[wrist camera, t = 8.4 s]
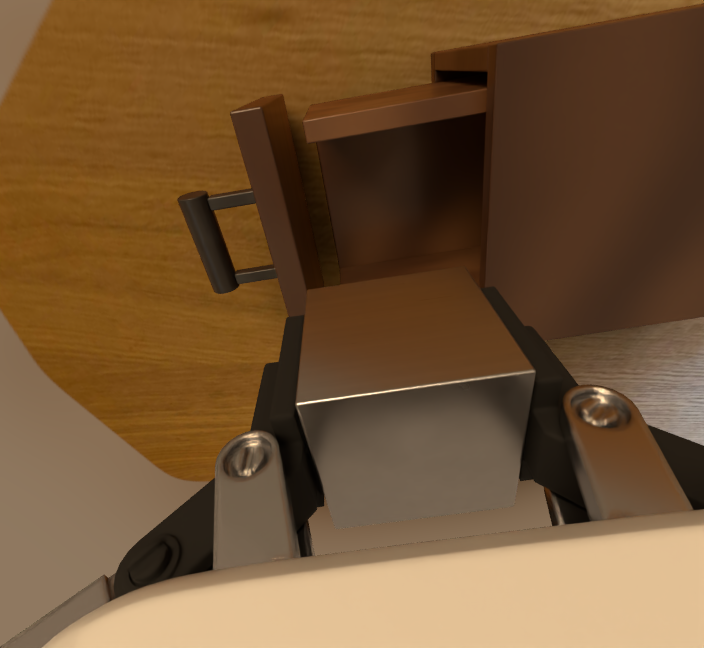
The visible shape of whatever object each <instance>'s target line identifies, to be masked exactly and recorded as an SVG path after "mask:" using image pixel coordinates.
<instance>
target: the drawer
mask: <svg viewBox="0 0 704 648" xmlns="http://www.w3.org/2000/svg"><path fill="white" fill-rule="evenodd" d="M487 79H488V73H487V74H481V75H476V76H470V77H465V78H459V79H453V80H448V81H442V82H436V83H431V84H425V85H420V86H414V87H408V88H403V89H397V90H391V91H386V92H380V93H375V94H369V95H363V96H358V97H352V98H347V99H341V100H335V101H330V102H324V103H318V104H313V105H311V106H310V107H309V109H308V111H307V113H306V115H305V117H304V120H303V127H304V132H305V137H306V142H307V143H308V144H309V143H315V142H316V144H317V149H318V155H319V160H320V165H321V171H322V176H323V182H324V187H325V192H326V198H327V203H328V209H329V214H330V219H331V225H332V230H333V236H334V241H335V246H336V252H337V257H338V263H339V268H340V285H342V284H349V283H355V282H362V281H368V280H375V279H381V278H388V277H394V276H401V275H407V274H414V273H421V272H427V271H434V270H440V269H447V268H453V267H460V266H465V267H466V269H467V270H468V271H469V273H470V274H471V276H472V277H473V279H474V280H475V282H476V283H477V285H478V286H479V277H480V252H481V227H482V203H483V178H484V153H485V129H486V104H487ZM230 115H231V118H232V122H233V125H234V129H235V132H236V136H237V139H238V143H239V146H240V150H241V153H242V156H243V160H244V163H245V167H246V170H247V174H248V177H249V181H250V184H251V189H245V190H239V191H233V192H228V193H222V194H216V195H211V196H208V193H207V192H206V191H196V192H191V193H188V194H185V195H182V196H180V197H179V198H178V199H177V200H178V203H179V205H180V208H181V210H182V213H183V215H184V218H185V220H186V223H187V225H188V228H189V230H190V233H191V235H192V238H193V240H194V242H195V245H196V247H197V250H198V252H199V255H200V257H201V260H202V262H203V265H204V267H205V270H206V272H207V275H208V277H209V280H210V282H211V285H212V287H213V290H214V292H215V293H218V294H223V293H228V292H231V291H233V290H235V289H236V288H238V287H239V284H242V283H249V282H255V281H261V280H267V279H274V278H278V281H279V284H280V288H281V291H282V295H283V298H284V302H285V305H286V308H287V312H288V315H289V317H293V316H299V315H305V305H306V295H307V290H309V289H316V288H322V287H324V282H323V277H322V272H321V268H320V263H319V258H318V254H317V249H316V245H315V240H314V235H313V231H312V226H311V221H310V217H309V212H308V207H307V203H306V198H305V194H304V189H303V184H302V180H301V175H300V170H299V166H298V161H297V156H296V152H295V147H294V143H293V138H292V133H291V129H290V124H289V119H288V115H287V110H286V105H285V101H284V96H283V94H279V95H273V96H267V97H262V98H260V99H258V100H255V101H253V102H251V103H249V104H247V105H244V106H242V107H240V108H238V109H236V110H233V111H231V112H230ZM255 203H256V205H257V208H258V212H259V215H260V219H261V222H262V226H263V229H264V232H265V236H266V239H267V243H268V246H269V250H270V253H271V257H272V260H273V265H267V266H260V267H254V268H248V269H242V270H237V271H236V272H235V269H234V266H233V263H232V260H231V258H230V255H229V252H228V249H227V246H226V243H225V241H224V238H223V235H222V232H221V229H220V227H219V224H218V221H217V218H216V215H215V212H214V210H219V209H225V208H231V207H237V206H243V205H249V204H255Z"/></svg>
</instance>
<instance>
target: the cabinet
mask: <svg viewBox="0 0 704 648" xmlns="http://www.w3.org/2000/svg"><path fill="white" fill-rule="evenodd" d="M431 72H432V83H436V82H442V81H448V80H453V79H459V78H465V77H470V76H476V75H481V74H487V73H488V79H487V104H486V129H485V153H484V178H483V203H482V227H481V252H480V277H479V288H486V287H492V286H494V287H495V288H496V289H497V290H498V292H499V293H500V294H501V296H502V297H503V298H504V300H505V301H506V302H507V304H508V305H509V306H510V308H511V309H512V310H513V312H514V313H515V314H516V316H517V317H518V318H519V320H520V321H521V322H522V324H523V325H524V326H532V327H533V328H534V329H535V330H536V331H537V333H538V334H539V335H540V336H541V338H542V339H543V340H544V341H545V340H552V339H558V338H565V337H572V336H578V335H585V334H592V333H599V332H605V331H612V330H619V329H625V328H632V327H639V326H646V325H652V324H659V323H666V322H672V321H679V320H686V319H693V318H699V317H704V3H703V4H697V5H692V6H686V7H681V8H675V9H670V10H664V11H659V12H653V13H648V14H642V15H637V16H631V17H626V18H620V19H615V20H609V21H604V22H598V23H593V24H587V25H582V26H576V27H571V28H565V29H559V30H554V31H548V32H543V33H537V34H532V35H526V36H521V37H515V38H510V39H504V40H499V41H493V42H488V43H482V44H477V45H471V46H466V47H460V48H455V49H449V50H444V51H438V52H433V53H431Z"/></svg>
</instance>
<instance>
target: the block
mask: <svg viewBox="0 0 704 648" xmlns="http://www.w3.org/2000/svg"><path fill="white" fill-rule="evenodd" d="M535 374H536V371H535V369H534V367H533V366H532V364H531V363H530V361H529V360H528V358H527V357H526V355H525V354H524V352H523V351H522V349H521V348H520V347H519V345H518V344H517V342H516V341H515V339H514V338H513V336H512V335H511V333H510V332H509V330H508V329H507V327H506V326H505V324H504V323H503V322H502V320H501V319H500V317H499V316H498V314H497V313H496V311H495V310H494V308H493V307H492V305H491V304H490V302H489V301H488V299H487V298H486V296H485V295H484V294H483V292H482V291H481V289H480V288H479V286H478V285H477V283H476V282H475V280H474V279H473V277H472V276H471V274H470V273H469V271H468V270H467V269H466V267H465V266H460V267H453V268H447V269H440V270H434V271H427V272H421V273H414V274H407V275H401V276H394V277H388V278H381V279H375V280H368V281H362V282H355V283H349V284H342V285H336V286H329V287H322V288H316V289H309V290H307V295H306V305H305V315H304V324H303V334H302V344H301V354H300V363H299V373H298V383H297V392H296V402H295V406H296V409H297V412H298V415H299V418H300V421H301V424H302V427H303V430H304V433H305V436H306V440H307V443H308V446H309V449H310V452H311V455H312V458H313V461H314V464H315V467H316V470H317V474H318V477H319V480H320V483H321V486H322V489H323V492H324V495H325V498H326V501H327V505H328V507H329V511H330V514H331V517H332V520H333V523H334V526H335V528H336V529H340V528H348V527H357V526H364V525H372V524H380V523H387V522H396V521H404V520H411V519H419V518H427V517H435V516H443V515H451V514H459V513H467V512H475V511H483V510H491V509H498V508H507V507H513V506H514V504H515V497H516V491H517V485H518V479H519V473H520V467H521V460H522V454H523V448H524V442H525V436H526V429H527V423H528V417H529V411H530V405H531V399H532V392H533V386H534V380H535Z"/></svg>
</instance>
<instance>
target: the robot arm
mask: <svg viewBox="0 0 704 648" xmlns="http://www.w3.org/2000/svg"><path fill="white" fill-rule="evenodd" d="M480 289H481V291H482V292H483V294H484V295H485V296H486V298H487V299H488V301H489V302H490V304H491V305H492V307H493V308H494V310H495V311H496V313H497V314H498V316H499V317H500V319H501V320H502V322H503V323H504V324H505V326H506V327H507V329H508V330H509V332H510V333H511V335H512V336H513V338H514V339H515V341H516V342H517V344H518V345H519V347H520V348H521V349H522V351H523V352H524V354H525V355H526V357H527V358H528V360H529V361H530V363H531V364H532V366H533V367H534V369H535V371H536V374H535V380H534V386H533V392H532V399H531V405H530V411H529V417H528V423H527V429H526V436H525V442H524V448H523V454H522V460H521V467H520V473H519V479H520V481H524V480H531V479H534V481H535V482H536V483H538V484H540V485H542V486H544V492H545V497H546V501H547V505H548V509H549V514H550V518H551V522H552V526H550V527H542V528H533V529H525V530H517V531H509V532H500V533H492V534H484V535H476V536H468V537H459V538H452V539H444V540H436V541H427V542H420V543H411V544H403V545H395V546H387V547H380V548H372V549H364V550H357V551H349V552H341V553H333V554H325V555H317V556H315V554H314V548H313V543H312V538H311V533H310V528H309V523H308V519H309V518H310V517H311V516H312V515H313V513H314V512H315V511H316V510H317V507H322V506H324V492H323V489H322V486H321V483H320V480H319V477H318V474H317V470H316V467H315V464H314V461H313V458H312V455H311V452H310V449H309V446H308V443H307V440H306V436H305V433H304V430H303V427H302V424H301V421H300V418H299V415H298V412H297V409H296V406H295V402H296V392H297V383H298V373H299V363H300V354H301V344H302V334H303V324H304V315H299V316H293V317H287V318H286V323H285V329H284V335H283V341H282V346H281V352H280V358H279V362H275V363H268V364H266V365H265V367H264V371H263V376H262V380H261V385H260V389H259V394H258V398H257V403H256V408H255V412H254V417H253V421H252V426H251V430H250V431H249V432H245V433H243V434H240V435H238V436H236V437H235V438H233V439H232V440H230V441H229V442H228V443H227V444H226V445H225V446H224V447H223V448H222V449H221V451H220V453H219V455H218V457H217V460H216V465H215V478H214V479H213V480H212V481H210V482H209V483H208V484H207V485H206V486H205V487H203V488H202V489H201V490H200V491H198V492H197V493H196V494H195V495H194V496H192V497H191V498H190V499H189V500H188V501H186V502H185V503H184V504H183V505H182V506H180V507H179V508H178V509H177V510H176V511H174V512H173V513H172V514H171V515H170V516H168V517H167V518H166V519H165V520H163V522H161V523H160V524H159V525H158V526H156V527H155V528H154V529H153V530H151V531H150V532H149V533H148V534H147V535H145V536H144V537H143V538H142V539H141V540H139V541H138V542H137V543H136V544H135V545H134V546H133V547H132V548H131V549H130V550H129V551H128V553H127V554H126V555H125V557H124V558H123V560H122V561H121V563H120V565H119V567H118V570H117V572H116V573H115V574H114V575H112V576H111V577H109V578H108V577H106V576H105V575H103V576H101V577H100V578H98V579H97V580H95V581H94V582H93V583H91V584H90V585H88V586H87V587H85V588H84V589H82V590H81V591H80V592H78V593H77V594H76V595H74V596H72V597H71V598H69V599H68V600H67V601H65V602H64V603H62V604H61V605H59V606H58V607H56V608H55V609H54V610H52V611H51V612H49V613H48V614H46V615H45V616H44V617H42V618H41V619H39V620H38V621H36V622H35V623H33V624H32V625H31V626H29V627H28V628H26V629H25V630H23V631H22V632H20V633H19V634H18V635H16V636H15V637H13V638H12V639H10V640H9V641H8V642H6V643H5V644H3V645H2V646H1V647H0V648H704V446H703V445H700V444H698V443H695V442H692V441H690V440H687V439H684V438H682V437H679V436H676V435H673V434H671V433H668V432H665V431H663V430H660V429H657V428H655V427H652V426H649V425H647V424H646V422H645V421H644V419H643V417H642V415H641V413H640V412H639V410H638V408H637V407H636V406H635V404H634V403H633V402H632V401H631V400H630V399H628V398H627V397H626V396H624V395H623V394H621V393H619V392H617V391H615V390H613V389H610V388H607V387H603V386H598V385H578V384H577V383H576V381H575V380H574V379H573V377H572V376H571V375H570V374H569V372H568V371H567V370H566V369H565V367H564V366H563V365H562V363H561V362H560V361H559V360H558V358H557V357H556V356H555V354H554V353H553V352H552V351H551V349H550V348H549V347H548V345H547V344H546V343H545V342H544V340H543V339H542V338H541V336H540V335H539V334H538V333H537V331H536V330H535V329H534V328H533V327H532V326H524V325H523V324H522V322H521V321H520V320H519V318H518V317H517V316H516V314H515V313H514V312H513V310H512V309H511V308H510V306H509V305H508V304H507V302H506V301H505V300H504V298H503V297H502V296H501V294H500V293H499V292H498V290H497V289H496V288H495V287H494V286H492V287H486V288H480Z"/></svg>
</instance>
